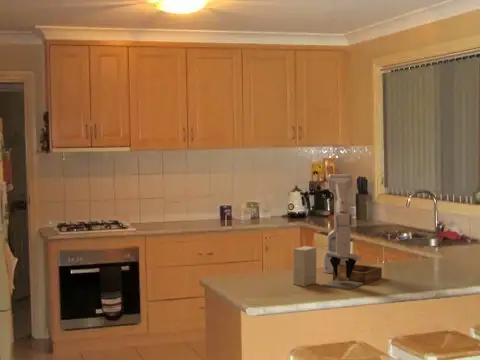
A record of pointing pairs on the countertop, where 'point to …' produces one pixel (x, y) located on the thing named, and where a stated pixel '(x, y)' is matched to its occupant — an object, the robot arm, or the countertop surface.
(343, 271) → the maple spool
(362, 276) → the walnut crate
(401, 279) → the countertop surface
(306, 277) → the skincare box
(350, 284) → the slate tile
